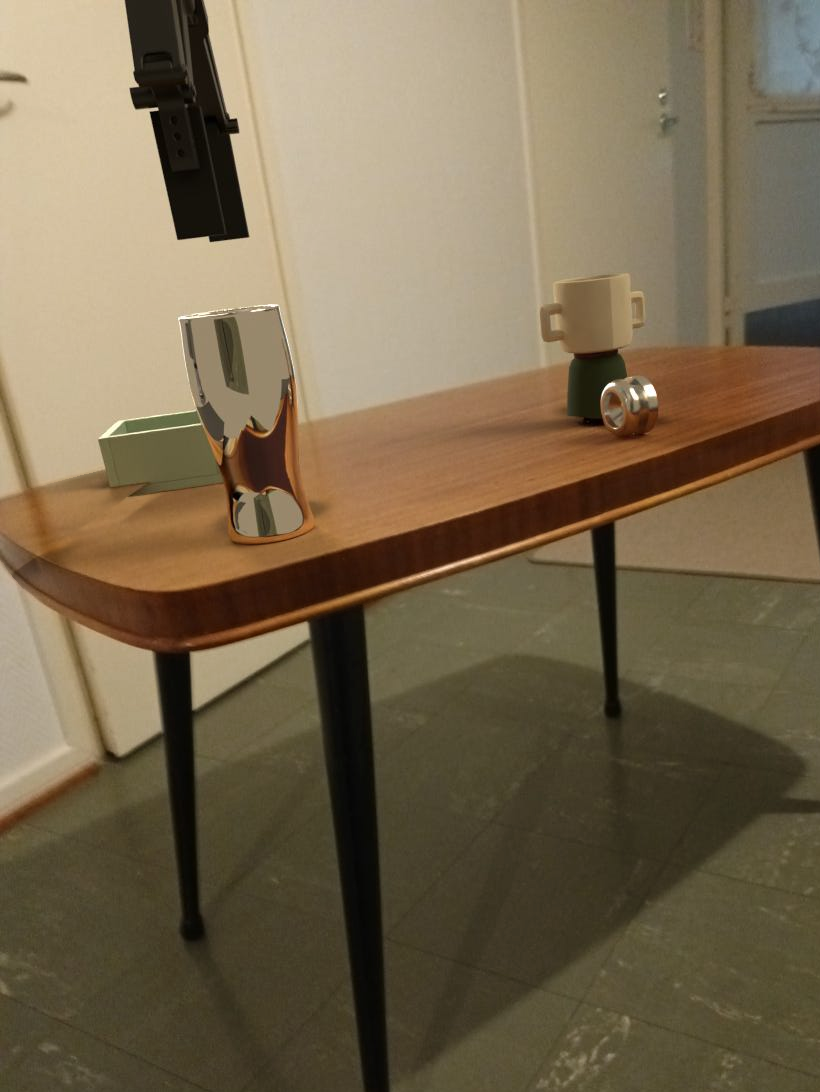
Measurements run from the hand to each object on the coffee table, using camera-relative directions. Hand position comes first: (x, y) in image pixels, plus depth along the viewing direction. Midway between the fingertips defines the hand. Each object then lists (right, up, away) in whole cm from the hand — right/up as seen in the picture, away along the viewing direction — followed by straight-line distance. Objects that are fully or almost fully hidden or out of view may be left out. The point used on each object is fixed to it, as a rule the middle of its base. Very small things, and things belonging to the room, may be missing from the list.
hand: (217, 239), depth 62 cm
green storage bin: (-11, -10, +29) cm, 33 cm away
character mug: (+28, -4, +33) cm, 44 cm away
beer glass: (+2, -18, +7) cm, 20 cm away
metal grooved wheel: (+30, -8, +24) cm, 39 cm away
